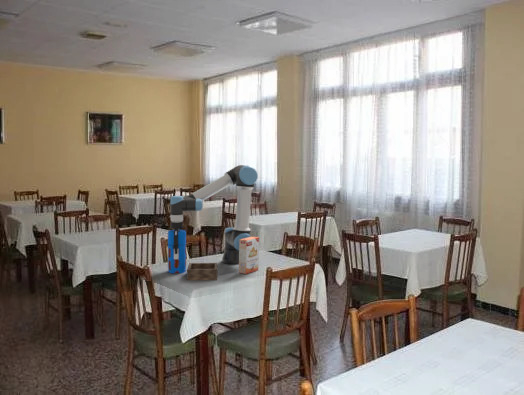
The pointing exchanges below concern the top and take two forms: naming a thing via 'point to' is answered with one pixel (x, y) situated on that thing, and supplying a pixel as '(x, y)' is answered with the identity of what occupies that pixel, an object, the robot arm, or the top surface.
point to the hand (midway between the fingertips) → (177, 257)
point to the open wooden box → (202, 271)
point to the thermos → (180, 263)
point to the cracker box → (248, 255)
